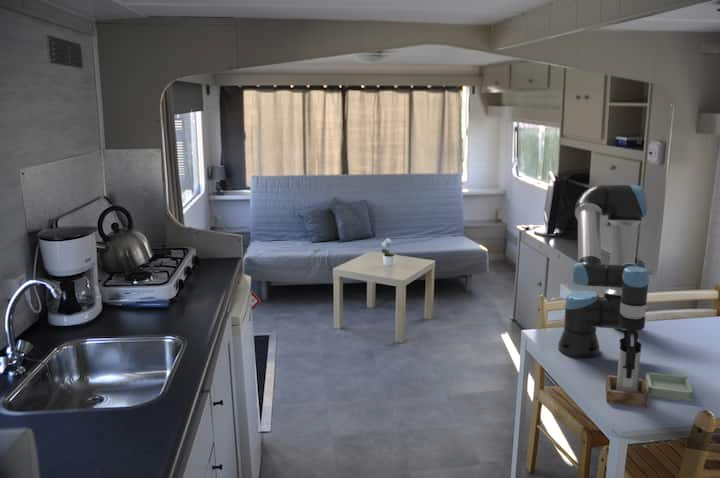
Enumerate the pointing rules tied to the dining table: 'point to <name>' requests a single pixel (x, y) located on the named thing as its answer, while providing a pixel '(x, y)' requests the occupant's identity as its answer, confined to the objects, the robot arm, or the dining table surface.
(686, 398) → the tray
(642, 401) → the holder
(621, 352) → the travel mug
